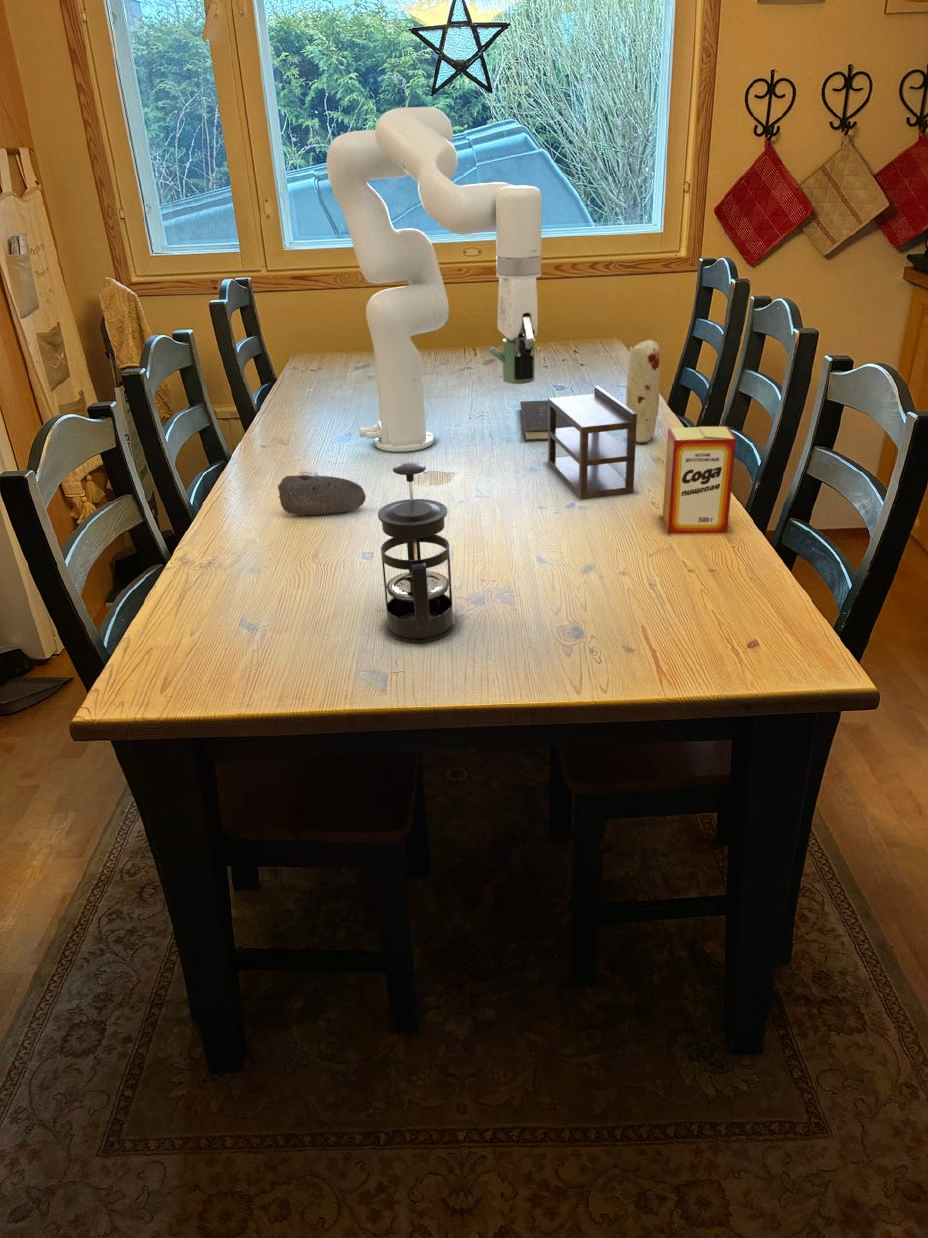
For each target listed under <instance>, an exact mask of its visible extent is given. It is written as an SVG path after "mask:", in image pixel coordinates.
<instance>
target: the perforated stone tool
mask: <svg viewBox="0 0 928 1238" xmlns="http://www.w3.org/2000/svg"><path fill="white" fill-rule="evenodd" d="M277 490H278V494H279V496H278V498H279V502H280V506H281V507H282V509H283V511H285V512H287V513H288V514H293V515H303V516H312V515H331V514H341V513H342V514H343V513H347V512H352V511H355V510H357V509H359V508H360V507H362V506H363V505H364V503H365V502H366V497H367V495H366V493H365V491H364V488H363V487H362V486H361V485H360V484H359V483H356V482H354V481H352V480H349V479H345V478H342V477H336V476H328V475H317V474H316V475H307V474H303V475H302V474H301V475H300V474H299V475H298V474H297V475H286V476H285V477H284V478H282V479H281V481H280V483H279V484H278V485H277Z"/></svg>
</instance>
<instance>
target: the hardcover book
mask: <svg viewBox="0 0 928 1238" xmlns="http://www.w3.org/2000/svg"><path fill="white" fill-rule="evenodd" d="M519 404H520V410H519V411H520V418H521V425H522V431H523V439H524V442H545V441H546V442H548V405H549V404H548V399H547V400H523V401H522V400H521V401H520V402H519ZM566 427H574V426H573V425H571V424H570V423H569V422H568V421H567V420H566V419H565V418H563V417H562V416H561V415H560V414H559V413H558V412H557V411H556V429H557V428H566Z"/></svg>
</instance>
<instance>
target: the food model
mask: <svg viewBox="0 0 928 1238" xmlns="http://www.w3.org/2000/svg"><path fill="white" fill-rule="evenodd" d="M627 363H628V367H627V380H626V394H625V395H626V396H625V397H626V399H625V401H626V402H625V403H626V404H625V405H626V406H627V407H628V408H630V409H631V410H633V411H634V412H635V413H637V421H636V422H637V426H636V443H638V444H642V443H647V442H649V441H650V440H651V439H653V436H654V434H655V432H656V424H657V419H658V414H659V408H660V407H659V406H660V384H661V382H660V381H661V351H660V345H659V344H658V342H656V341H654V340H653V339H646V340H644V341H640V342H639V343H638V344H636V345H634V347H632V346H631V347H630V348H629V353H628V362H627ZM627 434H628V429H625V436H627Z"/></svg>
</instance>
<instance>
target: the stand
mask: <svg viewBox="0 0 928 1238" xmlns="http://www.w3.org/2000/svg"><path fill="white" fill-rule="evenodd" d="M593 389H594V390H593V393H587V394H576V395H566V396H557V397H549V398H547V400H548V404H549V405H548V441H547V461H548V462H547V465H548V466H549V467H550V468H551V469H552V470H553V471H554V473H556V474H557V476H558V477H559V478H560V479H561V480H562V481H563V482H564V483H565V484H566V485H567V486H568V487H569V488H570V490H571V491H572V492H573V493H574V494H575V495H576V496H577V497H578V498H579V499H580V500H585V499H595V498H602V497H610V496H611V497H612V496H619V495H627V494H634V488H635V487H634V485H635V469H636V468H635V467H636V465H635V464H636V463H635V462H636V446H637V445H636V443H637V442H636V426H637V422H636V421H637V413H635V412H634V411H633V410H631V409H630V408H628V407H627V406H626V404H624V403H623V402H622V401H620V400H619V399H617V398H616V397H615V396H613V395H612V394H610V393H609V392H607V391H606V390H605V389H604V388H602V387H601V386H599V385H594V388H593ZM556 411H557V412H558V413H559V414H560V415H561V416H562V417H563V418H565V419H566V420H567V421H568V422H569V423H570V424H571V425H573V426H574V427H566V428H557V429H556ZM626 429H628V434H627V435H626V446H624V445H623V444H622V443H621V442H619V441H618V440H617V439H616V438H615V437H614V436H612V435H611V433H609V432H612V431H621V430H626ZM557 445H558V446H559V447H560V448H562V449H563V450H564V451H565V452H566V454H568V455H569V456H568V455H567V456H558V457H557V455H556V454H557ZM617 463H625V477H624V476H622V475H621V474H620V473H619V472H618V471H617V470H616V469H615V468H614V467H613V466H611V465H610V464H617Z"/></svg>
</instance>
